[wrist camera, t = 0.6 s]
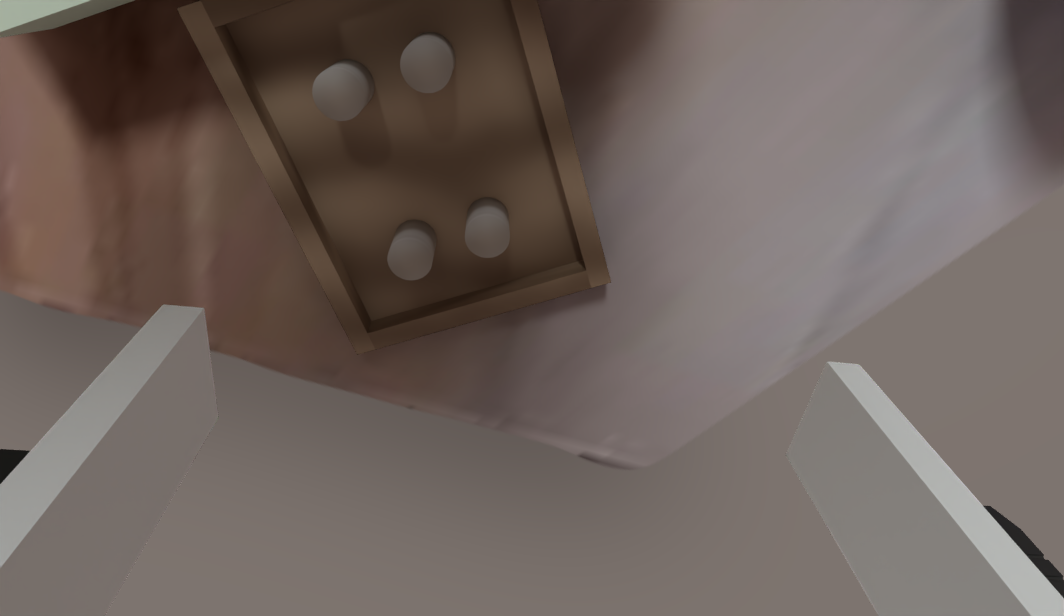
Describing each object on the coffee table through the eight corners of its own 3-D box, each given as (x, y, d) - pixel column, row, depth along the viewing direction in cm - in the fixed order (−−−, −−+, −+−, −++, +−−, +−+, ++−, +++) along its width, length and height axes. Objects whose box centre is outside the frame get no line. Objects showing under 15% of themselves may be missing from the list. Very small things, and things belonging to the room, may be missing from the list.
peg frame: (194, 5, 31) (162, 11, 28) (508, -104, 29) (509, -111, 26) (363, 337, 41) (352, 368, 37) (605, 267, 39) (615, 294, 36)
